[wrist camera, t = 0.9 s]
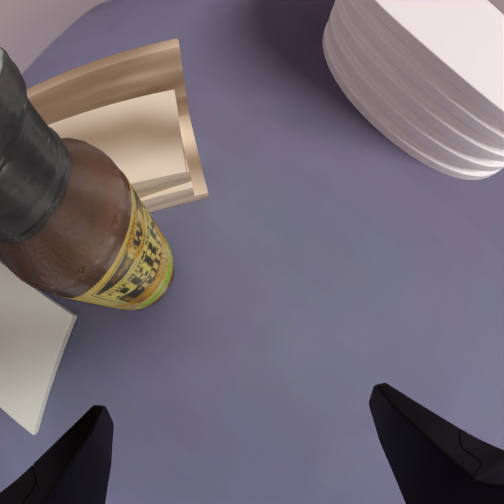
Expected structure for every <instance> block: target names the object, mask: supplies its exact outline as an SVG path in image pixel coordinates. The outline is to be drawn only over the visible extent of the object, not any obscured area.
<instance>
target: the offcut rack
mask: <svg viewBox="0 0 504 504" xmlns="http://www.w3.org/2000/svg"><path fill="white" fill-rule="evenodd" d="M26 92H27V97H28V99H29V100H30V102H31V103H32V105H33V107H34V108H35V109H36V111H37V112H38V113H39V114H40V116H41V117H42V118H43V120H44V121H45V123H46V124H47V125H48V126H49V127H51V128H52V129H53V130H54V131H56V132H57V134H58V135H59V137H60V138H73V139H78V140H82V141H85V142H87V143H88V144H90V145H93V146H95V147H97V148H98V149H100V150H102V151H103V152H104V153H105V154H106V155H108V156H109V157H110V158H111V159H112V161H114V163H115V164H116V165H117V167H118V168H119V169H120V170H121V171H122V172H124V174H125V175H126V177H127V178H128V180H129V182H130V183H131V185H132V187H133V188H134V190H135V192H136V193H137V195H138V197H139V198H140V200H141V202H142V203H143V204H144V206H145V207H146V209H147V211H148V212H149V213H150V212H154V211H158V210H161V209H165V208H169V207H173V206H176V205H180V204H184V203H188V202H192V201H196V200H200V199H204V198H208V191H207V187H206V183H205V179H204V175H203V171H202V167H201V163H200V159H199V155H198V150H197V146H196V142H195V138H194V134H193V129H192V125H191V121H190V116H189V111H188V104H187V97H186V90H185V83H184V76H183V68H182V61H181V53H180V46H179V42H178V38H177V39H172V40H168V41H163V42H159V43H155V44H151V45H147V46H143V47H139V48H136V49H132V50H128V51H125V52H122V53H118V54H115V55H112V56H109V57H106V58H103V59H100V60H97V61H94V62H91V63H88V64H86V65H83V66H80V67H78V68H75V69H72V70H70V71H67V72H65V73H62V74H60V75H58V76H55V77H53V78H51V79H48V80H46V81H44V82H42V83H40V84H37V85H35V86H33V87H31V88H29V89H27V91H26Z"/></svg>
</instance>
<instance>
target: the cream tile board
mask: <svg viewBox="0 0 504 504" xmlns="http://www.w3.org/2000/svg"><path fill="white" fill-rule="evenodd" d="M76 319H77V315H76V314H74V313H73V312H71V311H70V310H68V309H67V308H65V307H64V306H62V305H61V304H59V303H58V302H56V301H55V300H53V299H52V298H50V297H49V296H48V295H46V294H45V293H43V292H42V291H41V290H39V289H37V288H33V287H31V286H30V285H28V284H26V283H25V282H23V281H21V280H20V279H19V278H18V277H16V275H15V274H13V272H11V271H10V270H9V268H8V267H7V266H6V264H5V263H4V262H2V261H1V260H0V408H1V409H3V410H4V411H5V412H6V413H7V414H8V415H9V416H11V417H12V418H13V419H14V420H15V421H17V422H18V423H19V424H20V425H21V426H23V427H24V428H25V429H26V430H28V431H29V432H30V433H31V434H33V435H35V434H36V433H38V431H39V427H40V423H41V420H42V416H43V413H44V409H45V406H46V403H47V399H48V396H49V393H50V390H51V387H52V384H53V381H54V378H55V375H56V372H57V369H58V366H59V363H60V360H61V358H62V355H63V352H64V349H65V347H66V344H67V341H68V339H69V336H70V334H71V331H72V329H73V326H74V324H75V321H76Z"/></svg>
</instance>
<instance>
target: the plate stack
mask: <svg viewBox="0 0 504 504" xmlns="http://www.w3.org/2000/svg"><path fill="white" fill-rule="evenodd" d="M322 43H323V52H324V56H325V59H326V62H327V65H328V67H329V69H330V71H331V73H332V75H333V77H334V79H335V80H336V82H337V84H338V85H339V87H340V88H341V90H342V91H343V92H344V94H345V95H346V96H347V98H348V99H349V100H350V102H351V103H352V104H353V105H354V106H355V107H356V109H357V110H358V111H359V112H360V113H361V114H362V115H363V116H364V117H365V118H366V119H367V120H368V121H369V122H370V123H371V124H372V125H373V126H374V127H375V128H376V129H377V130H378V131H379V132H381V133H382V134H383V135H384V136H385V137H386V138H388V139H389V140H390V141H391V142H392V143H394V144H395V145H396V146H398V147H399V148H400V149H402V150H403V151H404V152H406V153H407V154H409V155H410V156H412V157H413V158H415V159H417V160H418V161H420V162H422V163H423V164H425V165H427V166H429V167H431V168H433V169H435V170H437V171H439V172H442V173H444V174H447V175H450V176H453V177H456V178H461V179H468V180H478V179H484V178H487V177H489V176H491V175H493V174H494V173H496V172H498V171H499V170H500V169H502V168H504V15H503V14H502V13H501V12H500V11H499V10H497V9H496V8H495V7H494V6H493V5H492V4H491V3H490V2H489V1H487V0H335V2H334V6H333V8H332V10H331V13H330V16H329V20H328V22H327V25H326V27H325V30H324V33H323V42H322Z"/></svg>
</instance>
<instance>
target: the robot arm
mask: <svg viewBox="0 0 504 504" xmlns="http://www.w3.org/2000/svg"><path fill="white" fill-rule="evenodd" d="M369 406H370V410H371V413H372V417H373V420H374V423H375V427H376V430H377V434H378V437H379V440H380V443H381V445H382V448H383V450H384V452H385V455H386V457H387V459H388V462H389V464H390V466H391V469H392V471H393V474H394V476H395V478H396V481H397V483H398V486H399V488H400V490H401V493H402V495H403V498H404V500H405V503H406V504H504V450H502V449H499V448H497V447H495V446H492V445H490V444H488V443H486V442H484V441H482V440H479V439H477V438H476V437H474V436H472V435H470V434H468V433H467V432H465V431H463V430H462V429H459V428H458V427H456V426H455V425H453V424H451V423H450V422H448V421H446V420H445V419H443V418H441V417H440V416H438V415H436V414H435V413H433V412H432V411H430V410H428V409H427V408H425V407H423V406H422V405H420V404H419V403H417V402H415V401H414V400H412V399H411V398H409V397H407V396H406V395H404V394H403V393H401V392H399V391H398V390H396V389H395V388H393V387H391V386H390V385H388V384H386V383H382V384H378V385H375V386H374V388H373V391H372V394H371V397H370V400H369ZM112 441H113V421H112V419H111V417H110V414H109V412H108V410H107V408H106V407H105V406H101V405H94V406H92V407H91V408H90V409H89V410H88V411H87V412H86V413H85V414H84V415H83V416H82V417H81V418H80V419H79V420H78V421H77V422H76V423H75V424H74V425H73V426H72V427H71V428H70V429H69V430H68V431H67V432H66V433H65V434H64V435H63V436H62V437H61V438H60V439H59V440H57V441H56V442H55V443H54V444H53V445H52V446H51V447H50V448H49V449H48V450H47V451H46V452H45V453H44V454H43V455H42V456H41V457H40V458H39V459H38V460H37V461H36V462H35V463H34V464H33V465H32V466H31V467H30V468H29V469H28V470H27V471H26V472H25V473H24V474H23V475H21V476H20V477H19V478H18V479H17V480H16V481H15V482H13V483H12V484H11V485H10V486H8V487H7V488H6V489H4V490H3V491H2V492H1V493H0V504H105V500H106V493H107V487H108V480H109V474H110V468H111V458H112Z"/></svg>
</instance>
